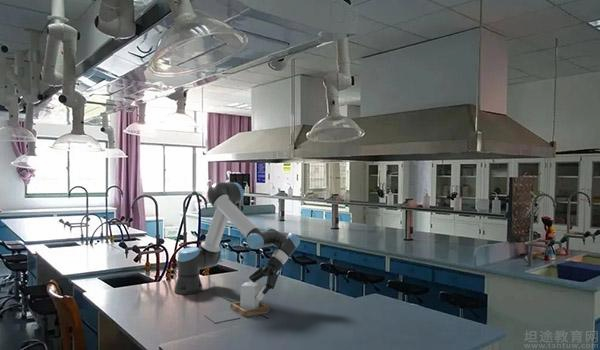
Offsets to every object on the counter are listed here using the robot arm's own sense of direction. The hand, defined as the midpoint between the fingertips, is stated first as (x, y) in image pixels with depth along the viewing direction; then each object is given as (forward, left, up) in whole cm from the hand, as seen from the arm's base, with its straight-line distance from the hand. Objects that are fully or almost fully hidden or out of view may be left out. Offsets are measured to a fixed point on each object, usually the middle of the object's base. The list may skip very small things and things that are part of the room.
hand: (251, 295), depth 196 cm
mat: (+1, -15, -7) cm, 17 cm away
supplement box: (-1, 0, -7) cm, 7 cm away
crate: (-1, 0, -7) cm, 7 cm away
